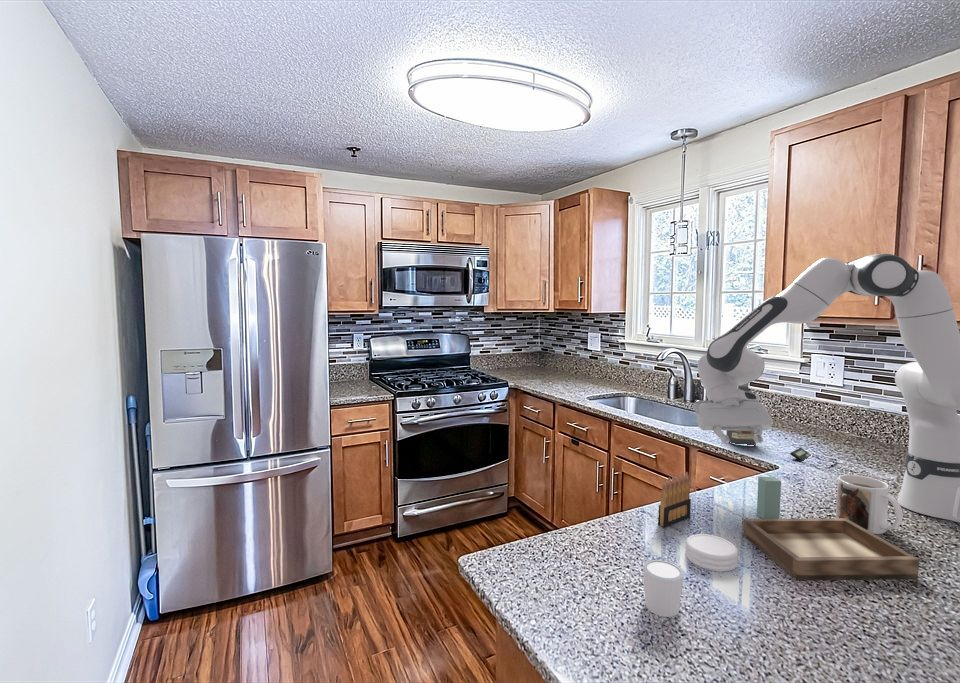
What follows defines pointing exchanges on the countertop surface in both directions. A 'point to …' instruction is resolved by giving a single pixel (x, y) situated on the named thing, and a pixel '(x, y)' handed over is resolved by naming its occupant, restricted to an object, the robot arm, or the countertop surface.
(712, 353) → the robot arm
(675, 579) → the white cylinder
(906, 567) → the wooden serving tray
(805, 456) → the calculator
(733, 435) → the liquor
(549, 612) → the countertop surface
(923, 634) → the countertop surface
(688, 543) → the white round disc stack
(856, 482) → the mug
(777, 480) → the grey-green rectangular block
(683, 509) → the ammunition clip
